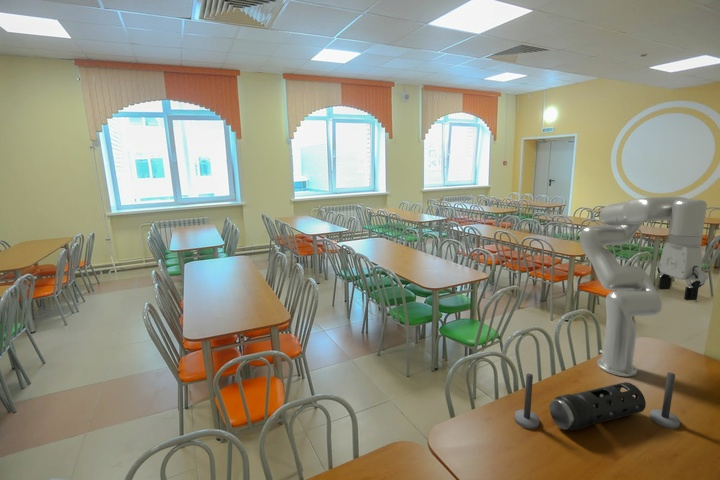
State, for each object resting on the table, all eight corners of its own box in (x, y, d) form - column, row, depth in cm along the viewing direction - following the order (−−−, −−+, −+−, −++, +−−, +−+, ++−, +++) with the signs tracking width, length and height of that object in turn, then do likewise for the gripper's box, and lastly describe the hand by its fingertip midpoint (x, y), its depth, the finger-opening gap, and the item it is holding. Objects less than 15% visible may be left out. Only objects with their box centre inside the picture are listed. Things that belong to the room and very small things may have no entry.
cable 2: (644, 413, 114) (650, 367, 111) (667, 413, 114) (673, 367, 111) (661, 428, 108) (668, 380, 104) (685, 428, 107) (693, 380, 104)
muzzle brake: (644, 422, 111) (648, 392, 109) (570, 442, 104) (573, 410, 102) (615, 403, 120) (619, 375, 118) (546, 420, 113) (548, 391, 111)
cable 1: (511, 413, 116) (513, 368, 113) (533, 413, 116) (536, 368, 113) (519, 429, 109) (522, 381, 106) (543, 429, 109) (546, 381, 106)
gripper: (649, 235, 117) (643, 285, 120) (696, 246, 100) (688, 304, 103) (673, 235, 116) (666, 285, 119) (724, 246, 99) (715, 304, 102)
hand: (676, 294), depth 111 cm, fingers open, 9 cm apart
